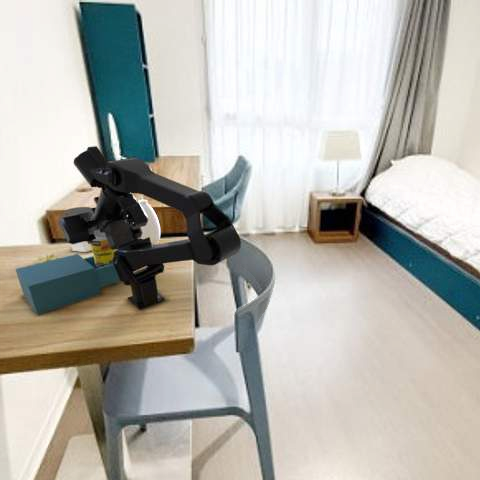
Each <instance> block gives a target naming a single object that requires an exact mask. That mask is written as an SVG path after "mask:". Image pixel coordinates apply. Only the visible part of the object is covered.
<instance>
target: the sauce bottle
mask: <svg viewBox="0 0 480 480" xmlns="http://www.w3.org/2000/svg"><path fill="white" fill-rule="evenodd" d="M137 202H138V203H140V204H141V206H142V208H143V210H144V211H145V213H146V215H147V216H148V222H147V224H146V226H143V227H140V228H141V230H142V236H141V239H145V238H148V237H150V241H151V243H152V244H153V245H157V244H159V242H160V239H161V225H160V222H159V218H158V216H157V214H156V212H155V210H154V209H153V207H152V206H151V204H149V202H148V200H147V199H144V195H142V194H140V199H139V200H137ZM133 224H134V223H133ZM139 239H140V238H139Z"/></svg>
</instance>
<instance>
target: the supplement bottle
mask: <svg viewBox="0 0 480 480" xmlns="http://www.w3.org/2000/svg"><path fill="white" fill-rule="evenodd" d="M94 235H95V237H96V239H94V240H92V242H91V248H92V256H94V260H95V264H96V266H97V267H98V268H99V267H103V266H107V265H110V264H113V257H114V254H113V253H114V251H116V250H112V249H111V248H110V246H109V243H108V240H107V238H106V235H105V233H104V232H103V233H101V232H100V230H96V231H94Z"/></svg>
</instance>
